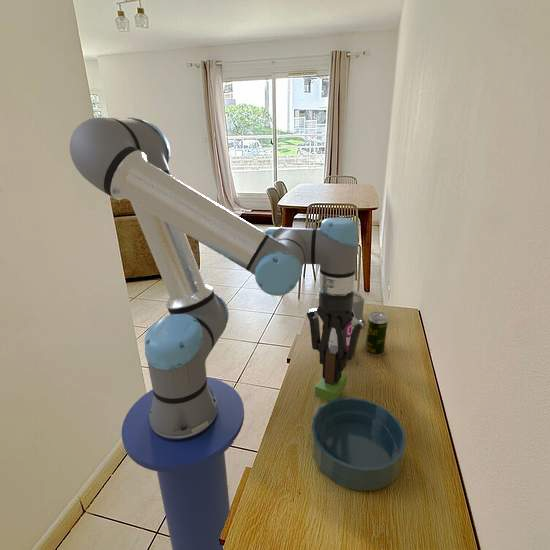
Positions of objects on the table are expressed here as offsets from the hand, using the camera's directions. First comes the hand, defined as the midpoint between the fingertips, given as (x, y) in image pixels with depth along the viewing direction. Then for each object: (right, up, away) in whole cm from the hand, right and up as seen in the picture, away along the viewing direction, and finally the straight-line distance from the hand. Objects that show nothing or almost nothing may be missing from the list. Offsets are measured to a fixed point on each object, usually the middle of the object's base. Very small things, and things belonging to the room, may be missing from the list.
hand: (331, 377), depth 87 cm
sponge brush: (0, -4, +2) cm, 4 cm away
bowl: (+3, -12, -13) cm, 18 cm away
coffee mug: (+10, +8, +34) cm, 37 cm away
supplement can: (+4, +1, +18) cm, 19 cm away
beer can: (+16, +2, +19) cm, 25 cm away
